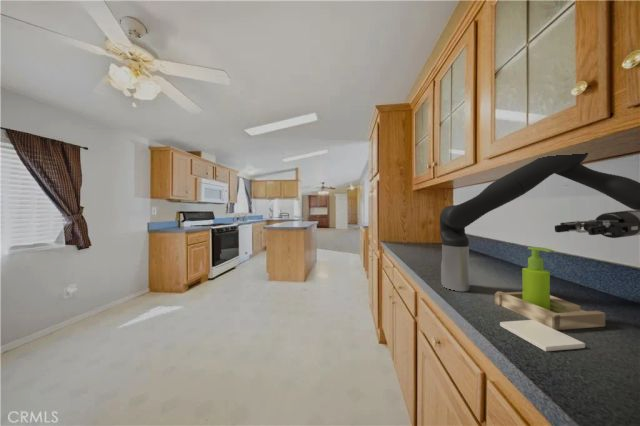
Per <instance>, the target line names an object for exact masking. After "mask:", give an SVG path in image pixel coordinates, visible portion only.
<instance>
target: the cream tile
mask: <svg viewBox="0 0 640 426" xmlns="http://www.w3.org/2000/svg"><path fill="white" fill-rule="evenodd" d="M499 326H500V327H502V329H503V328H504V329H506V331H508V332H511V333H512V334H514V335H516V336H518V337H519V338H521V339H522V340H525V341H526V342H529V344H532V345H534V346H536V347H537V348H539V349H541V350H542V351H544V352H553V351H554V352H555V351H563V350H565V351H566V350H575V349H585V348H586V342H583V341H581V340H578V339H576V338H574V337H572V336H569V335H567V334H565V333H564V332H561V331H560V330H555V329H552V328H550V327H548V326H546V325H544V324H541V323H539V322H537V321H535V320H531V319H523V320H509V321H500V322H499Z"/></svg>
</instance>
